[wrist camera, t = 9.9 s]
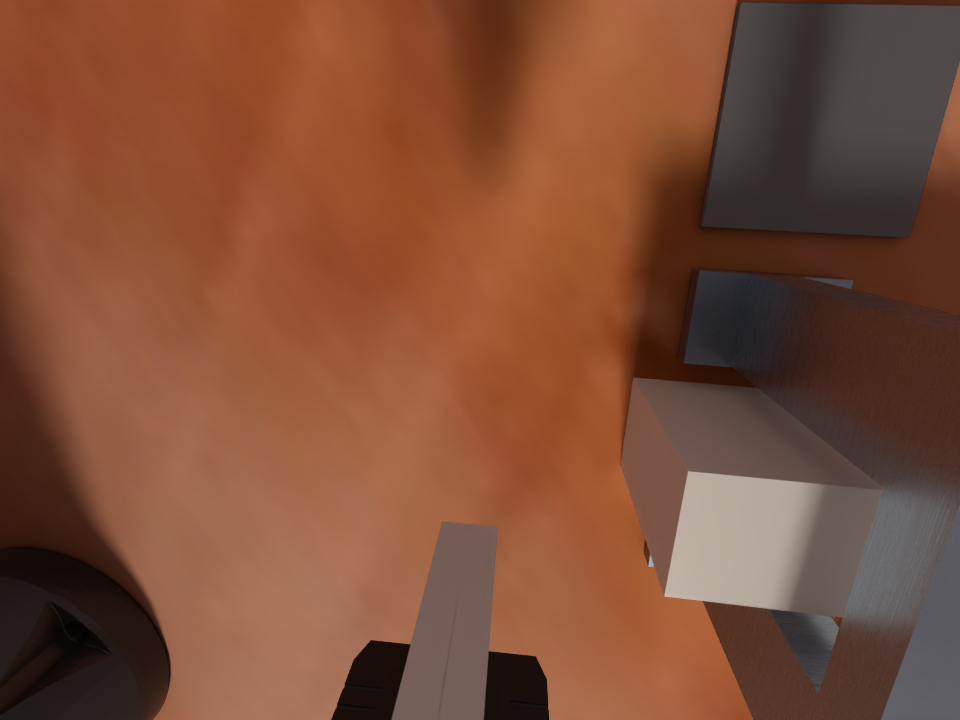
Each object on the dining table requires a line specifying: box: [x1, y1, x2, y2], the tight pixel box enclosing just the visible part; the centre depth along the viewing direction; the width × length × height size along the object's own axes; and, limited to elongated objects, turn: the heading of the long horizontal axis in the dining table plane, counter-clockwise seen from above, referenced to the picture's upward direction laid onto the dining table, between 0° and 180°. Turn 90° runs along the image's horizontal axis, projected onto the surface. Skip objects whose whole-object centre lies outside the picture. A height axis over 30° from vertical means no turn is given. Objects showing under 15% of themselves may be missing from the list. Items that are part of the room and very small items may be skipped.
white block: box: [620, 378, 883, 617], centre depth 19 cm, size 20×4×9 cm, turn 87°
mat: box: [700, 2, 960, 238], centre depth 20 cm, size 8×8×1 cm
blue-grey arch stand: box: [644, 268, 960, 720], centre depth 17 cm, size 6×14×13 cm, turn 177°
